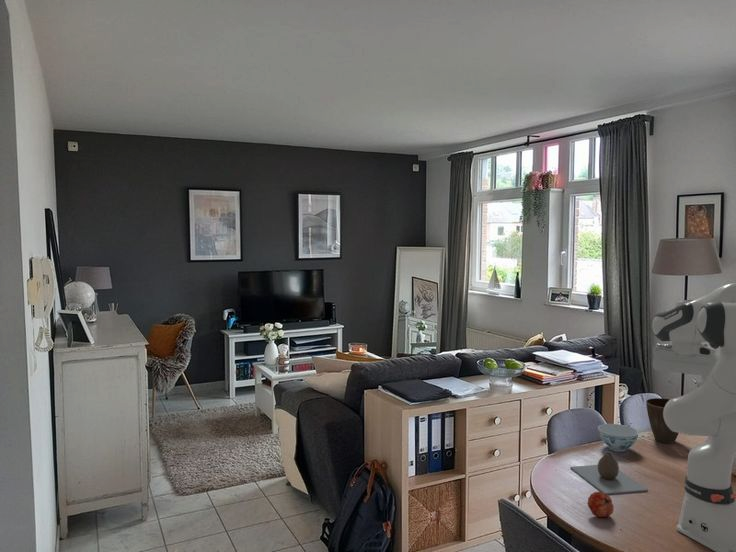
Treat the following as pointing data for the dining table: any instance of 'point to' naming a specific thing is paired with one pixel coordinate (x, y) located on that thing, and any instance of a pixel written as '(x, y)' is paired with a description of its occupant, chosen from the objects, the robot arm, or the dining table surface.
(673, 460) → the dining table surface
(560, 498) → the dining table surface
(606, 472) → the vase
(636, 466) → the dining table surface
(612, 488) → the mat
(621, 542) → the dining table surface
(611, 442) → the chinaware
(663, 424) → the plant pot
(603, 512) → the pomegranate
